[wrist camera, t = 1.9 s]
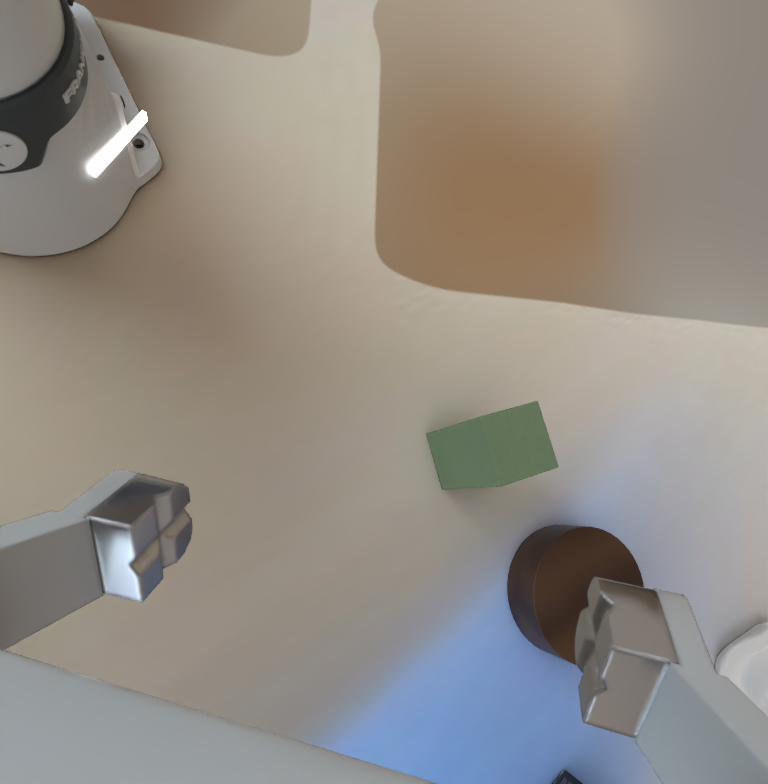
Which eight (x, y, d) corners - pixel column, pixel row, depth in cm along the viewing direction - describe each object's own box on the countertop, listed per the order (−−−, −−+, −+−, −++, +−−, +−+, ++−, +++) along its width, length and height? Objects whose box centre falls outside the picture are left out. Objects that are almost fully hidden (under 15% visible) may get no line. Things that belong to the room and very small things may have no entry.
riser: (491, 546, 46) (516, 550, 42) (590, 509, 50) (620, 510, 46) (529, 674, 45) (558, 690, 41) (627, 626, 49) (661, 637, 45)
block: (425, 433, 46) (479, 416, 37) (474, 420, 48) (537, 400, 39) (442, 489, 46) (500, 486, 36) (490, 473, 48) (558, 467, 38)
